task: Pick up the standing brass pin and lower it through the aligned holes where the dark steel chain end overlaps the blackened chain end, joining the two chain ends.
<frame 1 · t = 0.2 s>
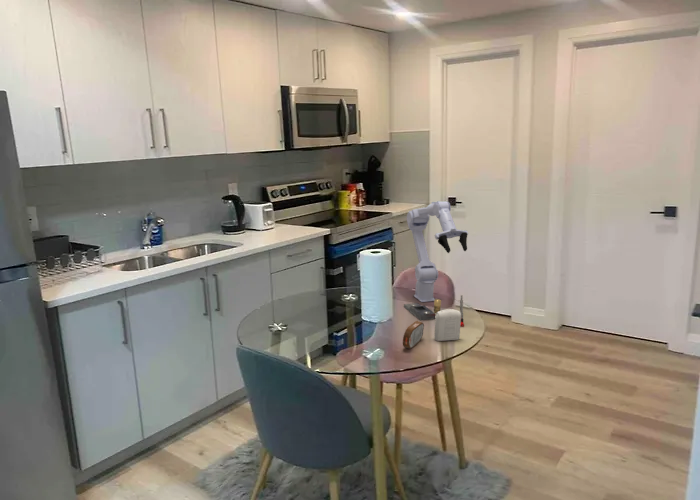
hand: (457, 250, 226), 31 cm above the table, tool tilted 45°, fingers open, 7 cm apart
photo printer: (446, 339, 213), on the table
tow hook: (452, 324, 229), on the table
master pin: (437, 312, 241), on the table
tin: (413, 345, 207), on the table
lower chain end: (419, 313, 240), on the table
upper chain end: (419, 313, 240), resting in lower chain end
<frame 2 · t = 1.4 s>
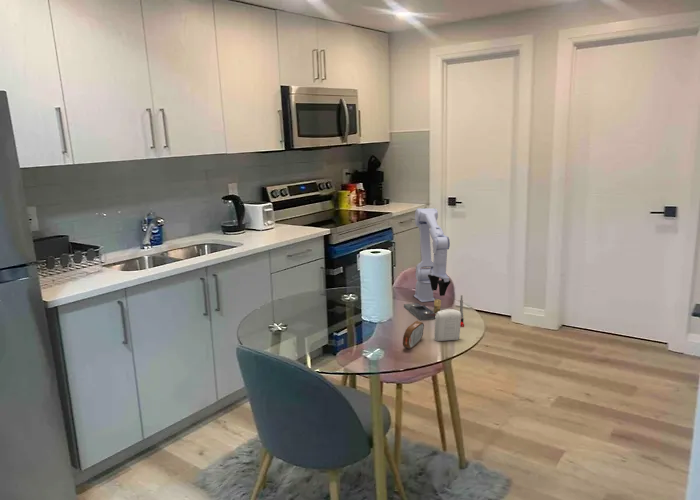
hand: (438, 292, 239), 9 cm above the table, tool pointing down, fingers open, 7 cm apart
nothing on the table moved.
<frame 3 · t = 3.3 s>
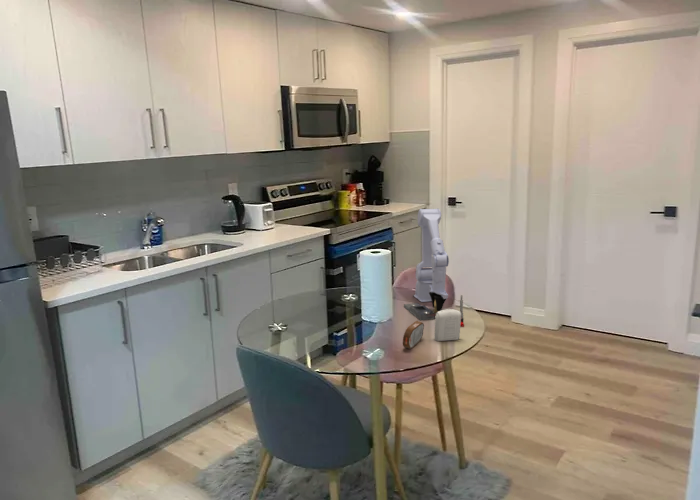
hand: (437, 309, 241), 2 cm above the table, tool pointing down, fingers closed on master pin, 3 cm apart
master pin: (437, 312, 241), on the table, touching gripper
everything else where it was.
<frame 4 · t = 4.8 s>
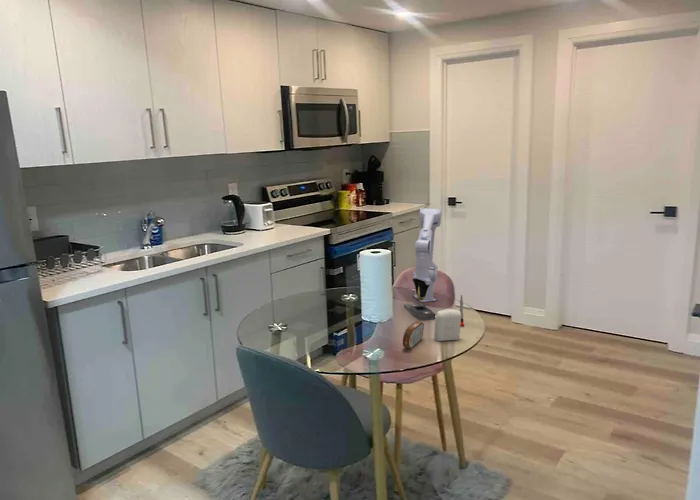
hand: (420, 295, 238), 8 cm above the table, tool pointing down, fingers closed on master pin, 3 cm apart
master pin: (420, 299, 238), point 7 cm above the table, touching gripper
everything else where it was.
when the fingers open (3 cm above the table, at t = 6.4 s): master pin drops 2 cm, resting in lower chain end.
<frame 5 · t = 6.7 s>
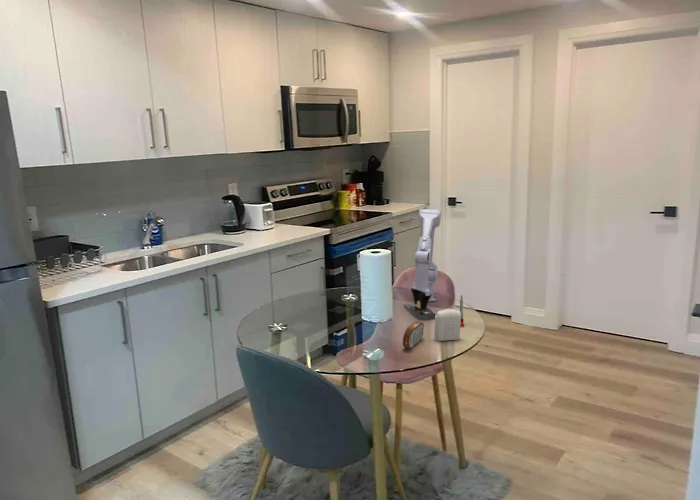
hand: (420, 306, 239), 3 cm above the table, tool pointing down, fingers open, 6 cm apart
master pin: (420, 313, 240), resting in lower chain end
everything else where it was.
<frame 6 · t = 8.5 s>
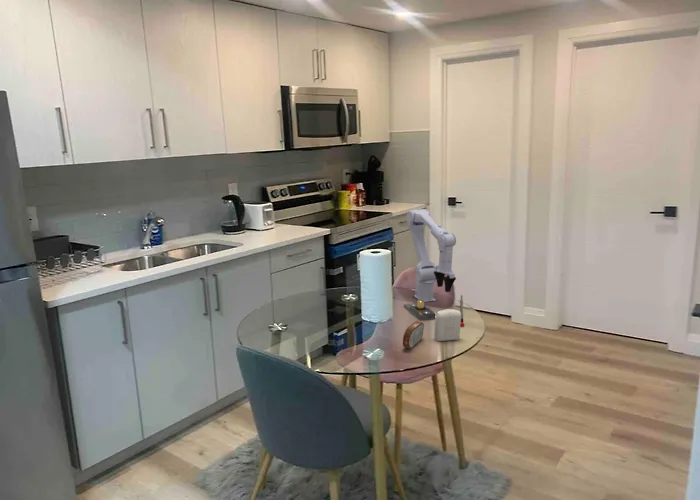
hand: (443, 289, 244), 9 cm above the table, tool pointing down, fingers open, 7 cm apart
nothing on the table moved.
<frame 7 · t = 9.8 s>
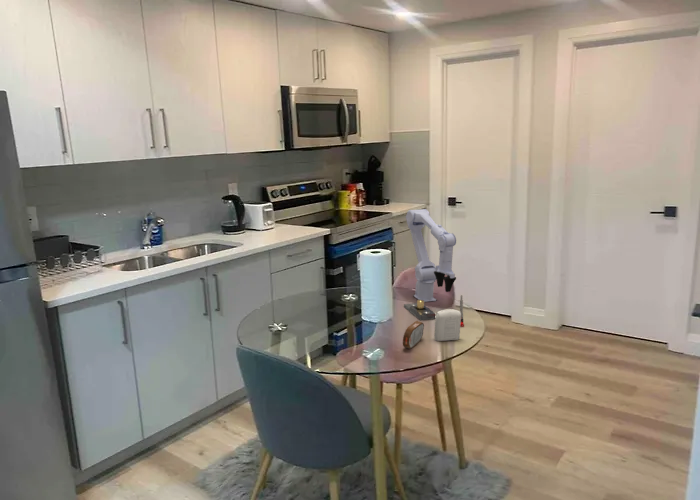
hand: (443, 289, 244), 9 cm above the table, tool pointing down, fingers open, 7 cm apart
nothing on the table moved.
at the end: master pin 0.0 cm off-centre on the lower chain end, point 0.0 cm above the lower chain end's base; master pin tilted 0°; the gripper is holding nothing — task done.
